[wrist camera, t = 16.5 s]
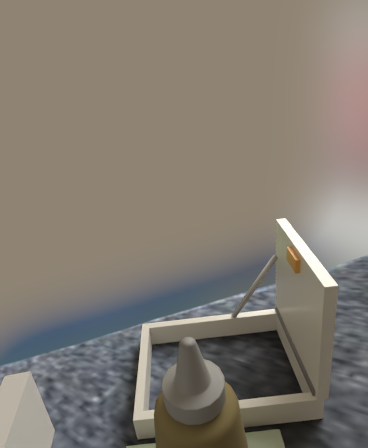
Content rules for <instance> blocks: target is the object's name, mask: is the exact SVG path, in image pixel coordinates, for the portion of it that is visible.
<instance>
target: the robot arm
mask: <svg viewBox="0 0 368 448" xmlns="http://www.w3.org/2000/svg"><path fill="white" fill-rule="evenodd" d="M54 431H55V430H54V428H53V425H52V423H51V420H50V418H49V415H48V413H47V411H46V408H45V406H44V403H43V401H42V398H41V396H40V394H39V391H38V389H37V386H36V384H35V381H34V379H33V377H32V374H31V372H24V373H19V374H13V375H8V376H5V377H4V379H3V382H2V384H1V386H0V448H51V445H52V440H53V436H54Z"/></svg>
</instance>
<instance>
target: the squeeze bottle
mask: <svg viewBox="0 0 368 448" xmlns="http://www.w3.org/2000/svg"><path fill="white" fill-rule="evenodd" d="M161 389H162V391H161V393H160V395H159V396H158V398H157V399H156V404H155V410H154V427H155V442H156V448H248V445H247V440H246V435H245V430H244V425H243V420H242V416H241V411H240V406H239V401H238V398H237V396H236V394H235V393H234V391H233V389H232V387H231V386H230V385H229V384H228V383H226V382H225V380H224V375H223V374H222V372H221V370H220V368H219V367H218V366H216V365H215V364H214V363H212V362H211V361H208V360H205V359H203V357H202V355H201V352H200V350H199V348H198V345H197V343H196V341H195V339H194V338H192V337H185V338H183V339H181V340H180V342H179V349H178V358H177V363H176V364H175V365H173V366H172V367H170V368H169V369H168V371H167V372H166V374H165V375H164V377H163V380H162V386H161Z"/></svg>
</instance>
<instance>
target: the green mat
mask: <svg viewBox="0 0 368 448" xmlns="http://www.w3.org/2000/svg"><path fill="white" fill-rule="evenodd" d="M245 435H246V440H247V445H248V448H285V445H284V442H283V439H282V436H281V432H280V429H274V430H266V431H257V432H248V433H245ZM126 448H156V443H151V444H142V445H133V446H126Z"/></svg>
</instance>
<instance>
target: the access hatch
mask: <svg viewBox="0 0 368 448" xmlns="http://www.w3.org/2000/svg"><path fill="white" fill-rule="evenodd" d="M275 261H276V308H275V309H270V310H261V311H252V312H244V313H240V311H241V310H242V308H243V307H244V305H245V304H246V303H247V301H248V300H249V298H250V297H251V296H252V294H253V293H254V291H255V290H256V288H257V287H258V286H259V284H260V283H261V281H262V280H263V279H264V277H265V276H266V274H267V273H268V271H269V270H270V269H271V267H272V266H273V264H274V263H275ZM337 295H338V285H337V283H336V282H335V281H334V280H333V278H332V277H331V276H330V274H329V273H328V272H327V271H326V269H325V268H324V267H323V266H322V264H321V263H320V262H319V261H318V259H317V258H316V257H315V255H314V254H313V253H312V252H311V250H310V249H309V248H308V246H307V245H306V244H305V243H304V241H303V240H302V239H301V238H300V236H299V235H298V234H297V232H296V231H295V230H294V229H293V227H292V226H291V225H290V224H289V222H288V221H287V220H286V218H284V219H276V255H273V256H272V258H271V259H270V261H269V262H268V263H267V265H266V266H265V268H264V269H263V271H262V272H261V273H260V275H259V276H258V278H257V279H256V281H255V282H254V284H253V285H252V286H251V288H250V289H249V291H248V292H247V293H246V295H245V296H244V298H243V299H242V301H241V302H240V304H239V305H238V306H237V308H236V309H235V311H234V312H233V314H226V315H218V316H209V317H200V318H192V319H183V320H174V321H166V322H157V323H148V324H143V325H142V335H141V345H140V355H139V365H138V375H137V385H136V395H135V405H134V415H133V423H134V427H135V431H136V435H137V439H147V438H155V427H154V410H149V393H150V376H151V358H152V344H161V343H169V342H178V341H180V340H181V339H183V338H185V337H192V338H194V339H204V338H213V337H222V336H230V335H239V334H248V333H256V332H265V331H274V330H277V332H278V335H279V337H280V339H281V342H282V344H283V347H284V349H285V351H286V354H287V356H288V359H289V361H290V363H291V366H292V368H293V371H294V373H295V376H296V378H297V380H298V383H299V385H300V388H301V390H302V392H303V393H297V394H288V395H280V396H271V397H262V398H253V399H244V400H238V401H239V406H240V411H241V416H242V420H243V425H244V428H245V427H253V426H262V425H271V424H280V423H289V422H298V421H306V420H315V419H323V414H324V402H325V399H329V388H330V376H331V365H332V353H333V342H334V330H335V318H336V307H337Z"/></svg>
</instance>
